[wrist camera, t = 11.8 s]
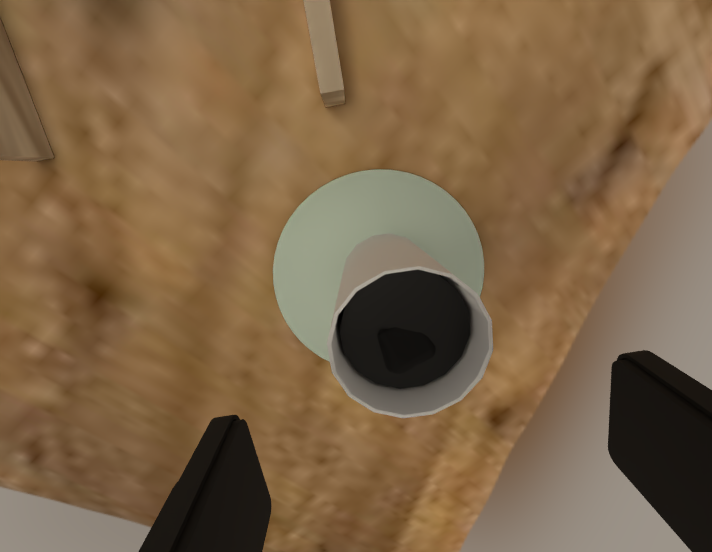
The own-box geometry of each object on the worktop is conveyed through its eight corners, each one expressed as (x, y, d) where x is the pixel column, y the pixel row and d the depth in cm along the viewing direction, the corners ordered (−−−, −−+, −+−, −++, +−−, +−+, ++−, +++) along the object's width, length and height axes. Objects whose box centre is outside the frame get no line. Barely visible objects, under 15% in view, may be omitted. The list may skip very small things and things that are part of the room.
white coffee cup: (447, 304, 25) (510, 390, 15) (355, 335, 25) (359, 436, 16) (419, 211, 23) (470, 241, 13) (320, 246, 23) (301, 299, 14)
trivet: (471, 151, 23) (475, 150, 22) (487, 349, 27) (491, 355, 26) (252, 190, 23) (249, 191, 22) (299, 380, 27) (298, 386, 26)
